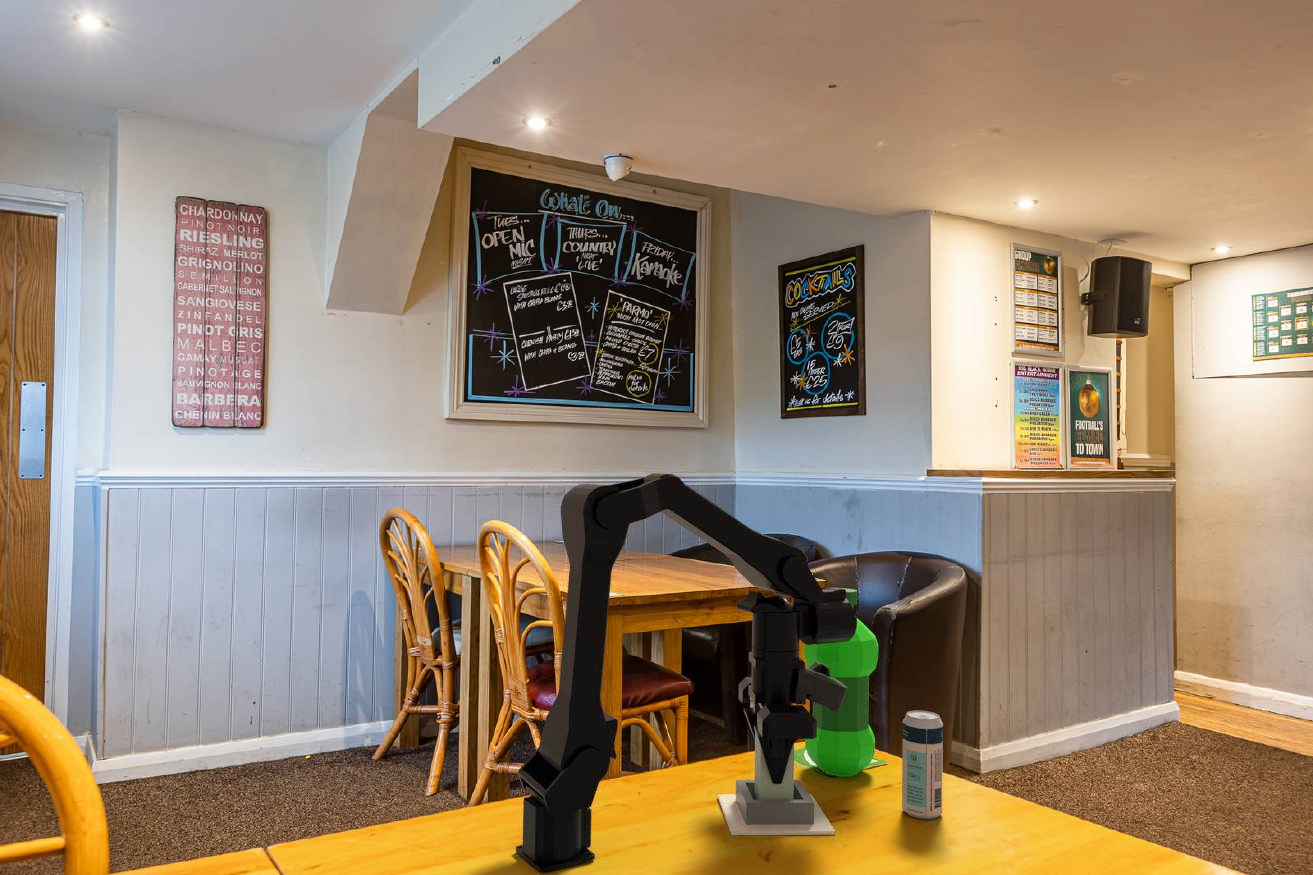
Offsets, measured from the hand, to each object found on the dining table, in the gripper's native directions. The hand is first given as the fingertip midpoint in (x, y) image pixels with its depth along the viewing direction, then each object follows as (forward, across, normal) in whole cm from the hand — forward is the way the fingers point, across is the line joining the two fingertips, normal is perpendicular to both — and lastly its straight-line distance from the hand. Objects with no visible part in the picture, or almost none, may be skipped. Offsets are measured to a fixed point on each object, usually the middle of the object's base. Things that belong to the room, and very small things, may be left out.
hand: (773, 777), depth 112 cm
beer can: (+5, 0, -18) cm, 19 cm away
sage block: (+2, 0, 0) cm, 2 cm away
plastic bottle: (+5, +16, -12) cm, 21 cm away
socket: (+4, 0, 0) cm, 4 cm away
